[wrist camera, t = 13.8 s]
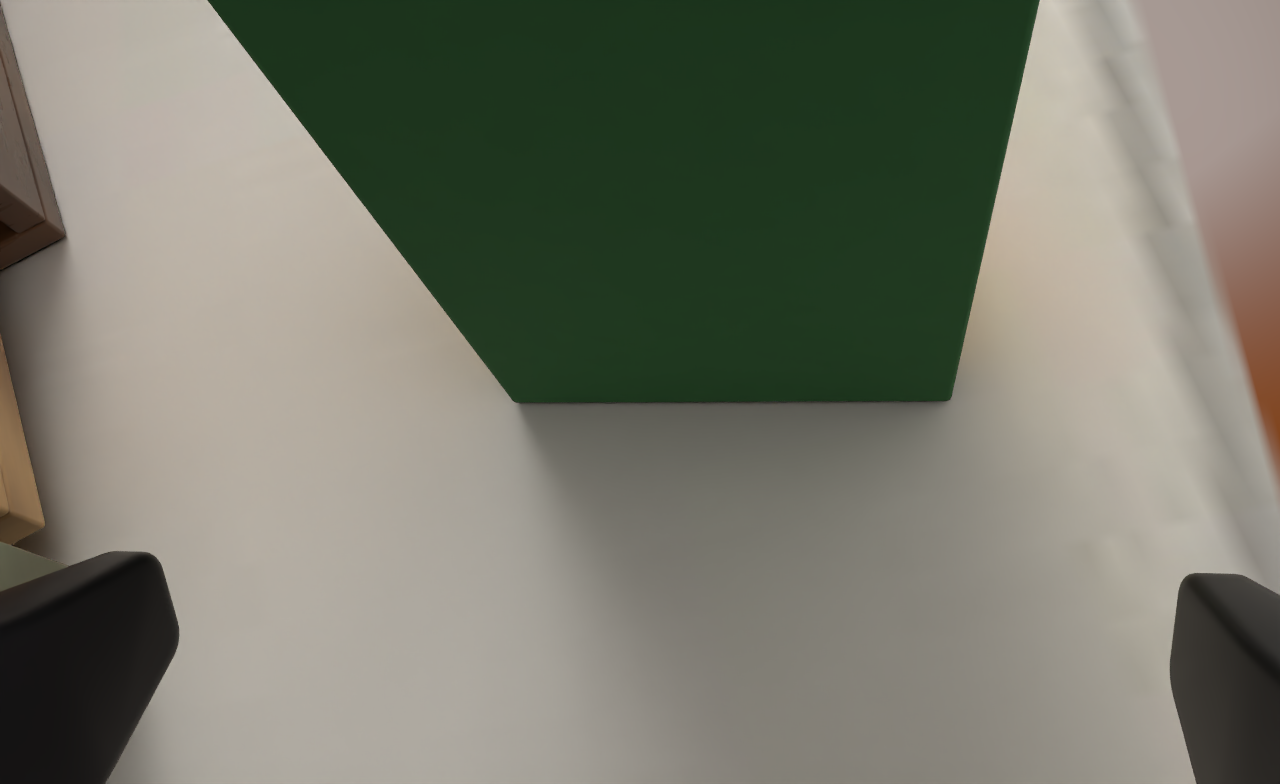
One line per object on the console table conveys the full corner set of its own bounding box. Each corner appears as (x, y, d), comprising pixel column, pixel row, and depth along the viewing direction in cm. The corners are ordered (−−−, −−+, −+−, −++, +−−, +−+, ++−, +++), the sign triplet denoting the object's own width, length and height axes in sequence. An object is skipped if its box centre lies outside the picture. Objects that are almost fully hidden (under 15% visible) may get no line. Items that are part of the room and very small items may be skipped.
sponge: (950, 403, 16) (1090, -214, 7) (513, 404, 18) (118, -109, 8) (941, 181, 18) (1042, -576, 8) (538, 198, 19) (230, -437, 10)
